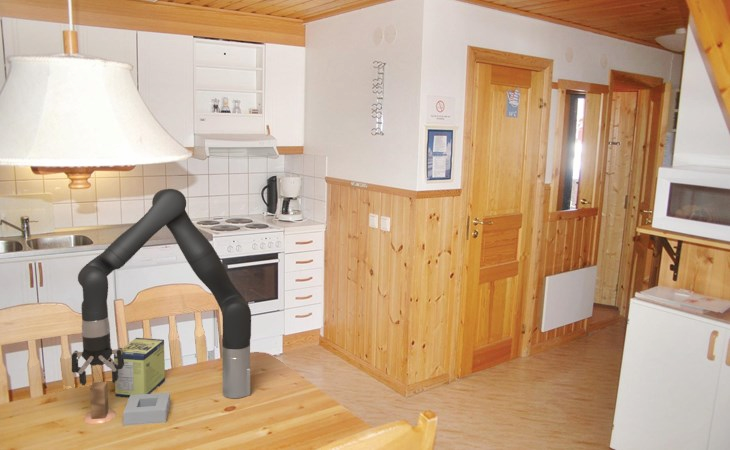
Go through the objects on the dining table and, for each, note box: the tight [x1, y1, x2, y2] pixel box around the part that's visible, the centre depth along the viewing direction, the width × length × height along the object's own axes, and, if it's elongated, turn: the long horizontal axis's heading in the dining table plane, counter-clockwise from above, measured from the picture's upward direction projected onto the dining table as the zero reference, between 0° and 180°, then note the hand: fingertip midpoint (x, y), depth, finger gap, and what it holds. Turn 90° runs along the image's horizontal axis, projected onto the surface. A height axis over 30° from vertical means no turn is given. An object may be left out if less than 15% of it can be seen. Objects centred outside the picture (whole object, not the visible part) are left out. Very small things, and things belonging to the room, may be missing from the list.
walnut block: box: [89, 381, 109, 419], centre depth 174 cm, size 4×4×10 cm
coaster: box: [83, 408, 117, 425], centre depth 175 cm, size 9×9×1 cm
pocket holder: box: [122, 392, 171, 427], centre depth 177 cm, size 12×12×4 cm
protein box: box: [113, 337, 166, 399], centre depth 194 cm, size 10×16×16 cm
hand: (99, 383), depth 173 cm, fingers open, 8 cm apart
